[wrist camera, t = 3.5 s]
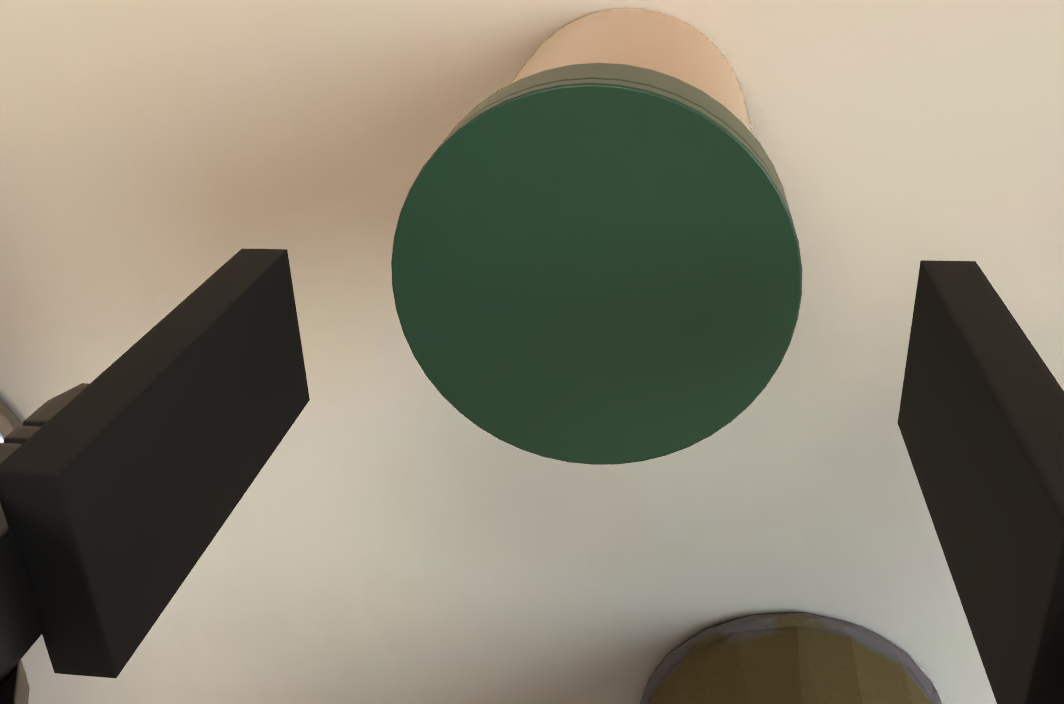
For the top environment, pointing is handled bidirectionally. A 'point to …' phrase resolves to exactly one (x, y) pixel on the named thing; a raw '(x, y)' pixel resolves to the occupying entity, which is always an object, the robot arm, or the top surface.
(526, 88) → the lid
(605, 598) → the top surface
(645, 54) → the jar
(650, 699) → the canister
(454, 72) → the top surface
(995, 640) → the robot arm
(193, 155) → the top surface
